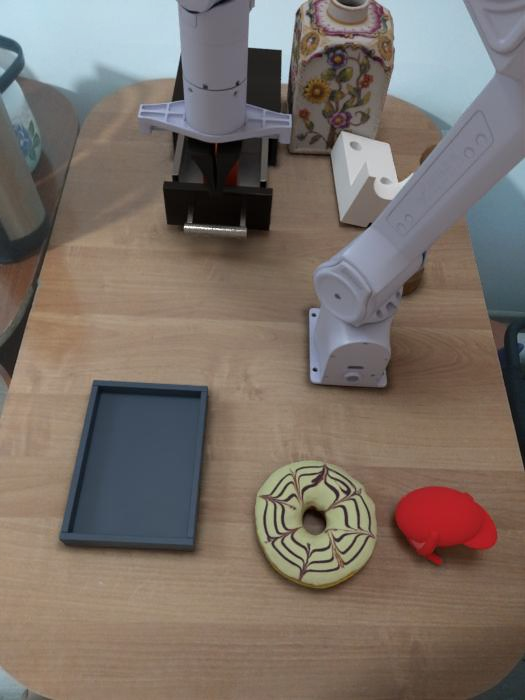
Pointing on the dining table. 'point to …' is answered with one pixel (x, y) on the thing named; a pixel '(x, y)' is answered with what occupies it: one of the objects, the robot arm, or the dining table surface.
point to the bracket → (363, 178)
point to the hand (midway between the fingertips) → (216, 189)
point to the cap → (443, 521)
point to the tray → (138, 467)
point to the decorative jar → (338, 72)
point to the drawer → (214, 211)
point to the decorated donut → (340, 514)
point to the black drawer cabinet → (252, 87)
